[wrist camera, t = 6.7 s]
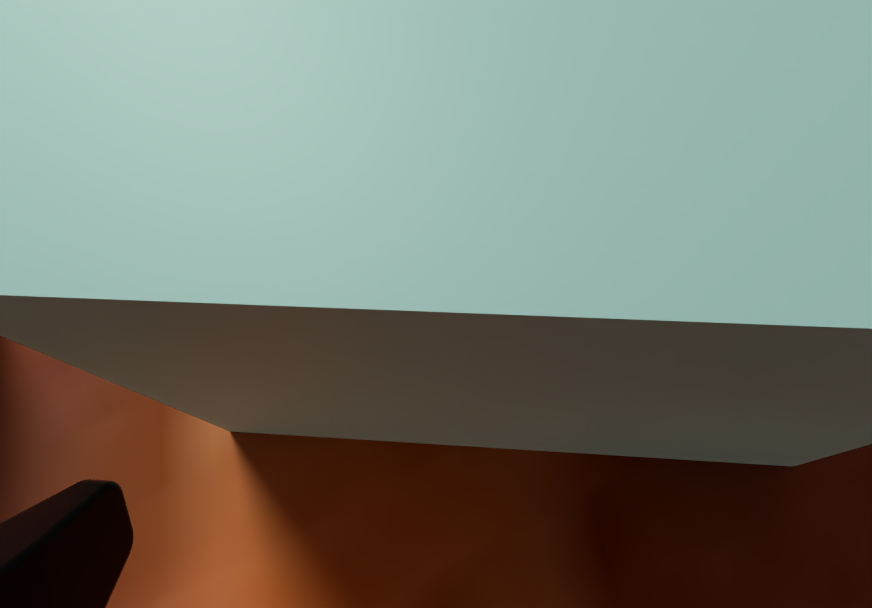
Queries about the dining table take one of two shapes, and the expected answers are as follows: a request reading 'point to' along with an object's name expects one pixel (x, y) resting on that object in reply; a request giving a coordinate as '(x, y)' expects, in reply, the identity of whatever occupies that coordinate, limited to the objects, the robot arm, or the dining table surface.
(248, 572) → the dining table surface
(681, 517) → the dining table surface
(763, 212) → the teal block
